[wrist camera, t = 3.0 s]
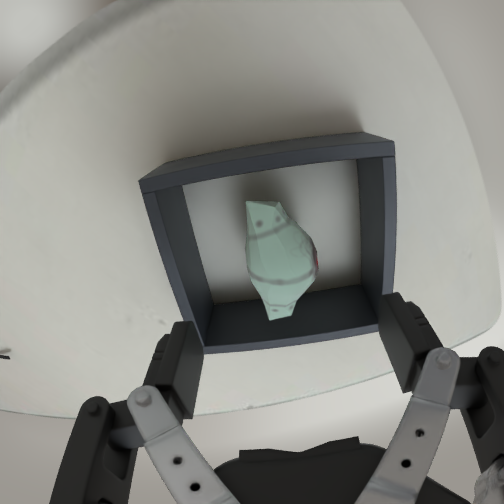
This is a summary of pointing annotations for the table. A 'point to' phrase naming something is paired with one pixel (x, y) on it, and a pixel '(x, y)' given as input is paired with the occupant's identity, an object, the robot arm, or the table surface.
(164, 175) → the bin
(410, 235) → the table surface
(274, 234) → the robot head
